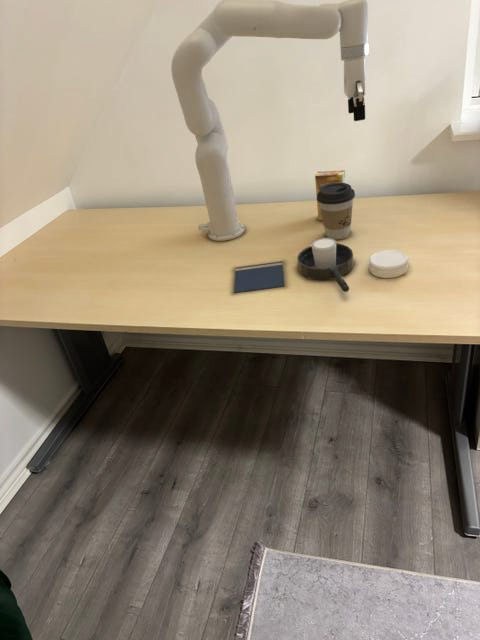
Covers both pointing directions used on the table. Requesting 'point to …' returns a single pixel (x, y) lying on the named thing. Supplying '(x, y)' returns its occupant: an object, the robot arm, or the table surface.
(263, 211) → the table surface
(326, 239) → the white cup
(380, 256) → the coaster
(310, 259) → the pan
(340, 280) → the pan handle
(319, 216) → the candy box
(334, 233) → the coffee cup
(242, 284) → the cloth
